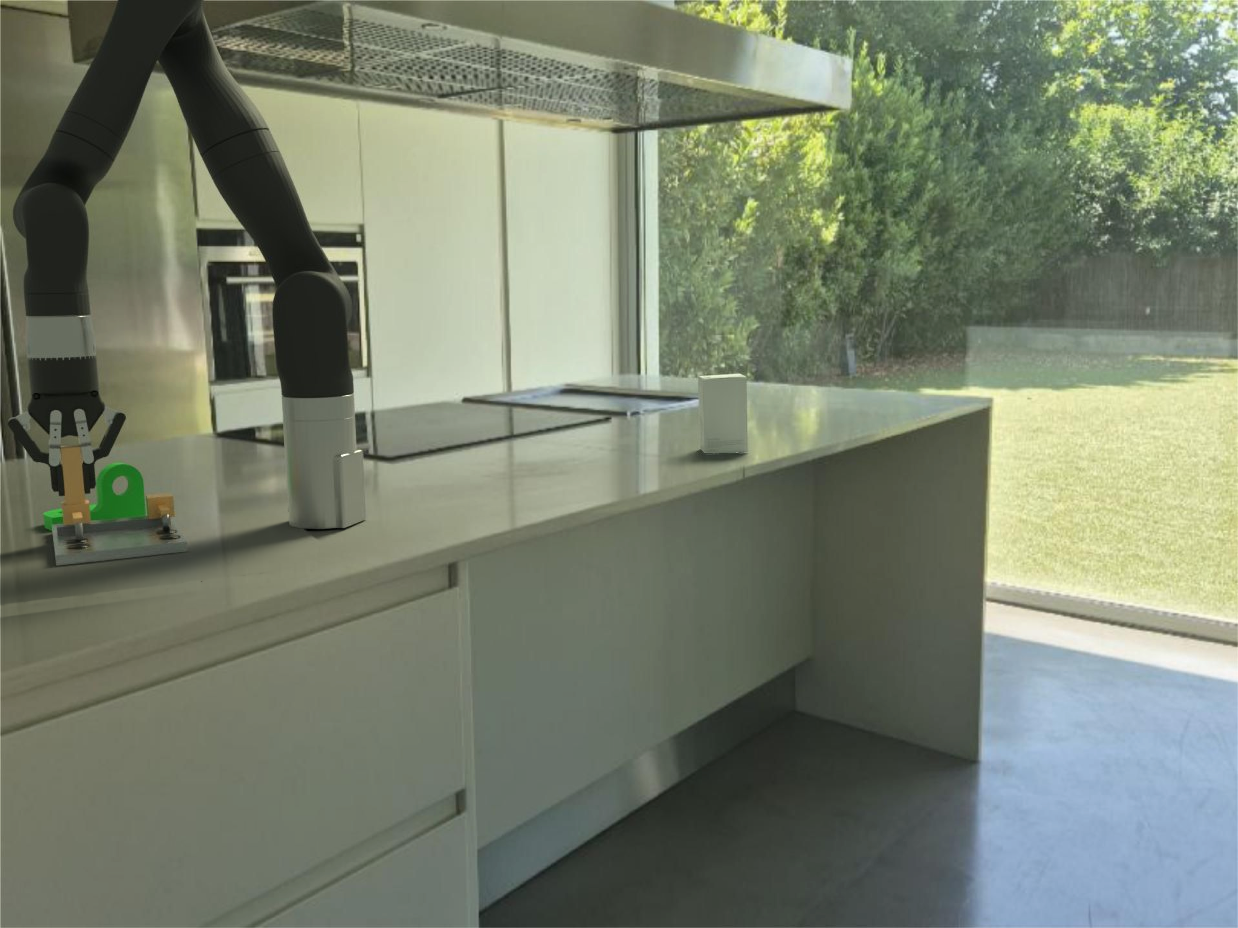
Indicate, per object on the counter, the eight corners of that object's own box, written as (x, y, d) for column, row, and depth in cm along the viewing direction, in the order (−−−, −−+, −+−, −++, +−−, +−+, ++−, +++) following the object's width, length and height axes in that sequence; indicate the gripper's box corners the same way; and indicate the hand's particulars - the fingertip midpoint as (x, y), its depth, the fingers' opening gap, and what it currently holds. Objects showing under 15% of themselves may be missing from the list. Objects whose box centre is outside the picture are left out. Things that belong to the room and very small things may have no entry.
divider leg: (90, 527, 142) (83, 444, 140) (93, 538, 135) (86, 451, 133) (64, 529, 140) (56, 446, 139) (66, 541, 134) (58, 453, 132)
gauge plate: (168, 522, 151) (165, 486, 151) (187, 551, 134) (184, 510, 133) (52, 533, 145) (49, 496, 144) (56, 565, 127) (52, 523, 127)
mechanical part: (129, 513, 159) (125, 457, 158) (146, 519, 155) (141, 462, 154) (38, 526, 151) (33, 467, 150) (53, 533, 147) (47, 472, 145)
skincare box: (742, 453, 209) (742, 373, 207) (748, 457, 203) (749, 375, 201) (697, 454, 208) (697, 374, 206) (702, 459, 202) (702, 376, 200)
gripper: (121, 350, 143) (132, 484, 146) (-3, 354, 137) (11, 494, 139) (126, 352, 136) (137, 493, 139) (-4, 357, 130) (10, 504, 133)
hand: (74, 493), depth 139 cm, fingers closed on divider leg, 2 cm apart
